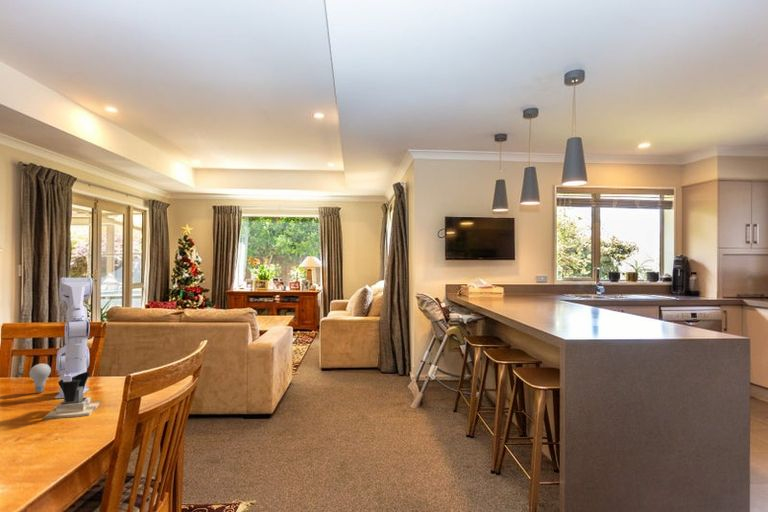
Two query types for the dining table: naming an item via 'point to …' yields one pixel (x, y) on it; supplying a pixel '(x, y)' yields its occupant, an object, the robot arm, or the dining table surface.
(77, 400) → the plug
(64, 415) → the holder box
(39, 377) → the lightbulb
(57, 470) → the dining table surface
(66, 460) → the dining table surface
